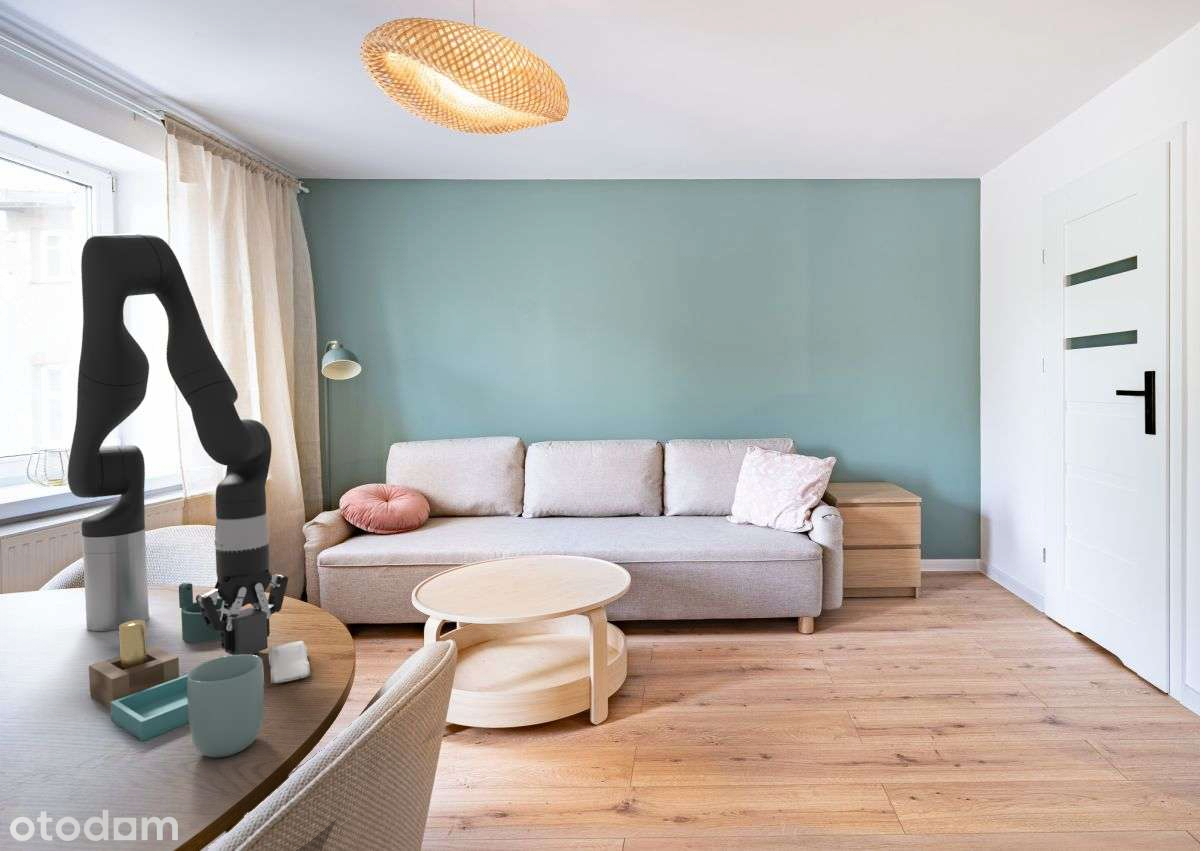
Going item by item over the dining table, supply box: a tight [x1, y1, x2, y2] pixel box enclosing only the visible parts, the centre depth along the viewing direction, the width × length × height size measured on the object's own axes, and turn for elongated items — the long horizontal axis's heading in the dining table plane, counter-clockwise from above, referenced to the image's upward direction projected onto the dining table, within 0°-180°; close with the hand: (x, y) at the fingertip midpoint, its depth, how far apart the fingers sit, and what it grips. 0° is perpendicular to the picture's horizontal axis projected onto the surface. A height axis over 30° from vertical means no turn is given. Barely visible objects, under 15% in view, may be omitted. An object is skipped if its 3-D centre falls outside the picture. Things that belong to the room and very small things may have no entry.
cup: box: [187, 654, 265, 758], centre depth 74 cm, size 8×8×10 cm
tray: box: [110, 673, 189, 742], centre depth 83 cm, size 9×12×2 cm
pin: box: [118, 620, 147, 670], centre depth 88 cm, size 3×3×10 cm
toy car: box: [268, 640, 311, 684], centre depth 96 cm, size 6×12×3 cm, turn 30°
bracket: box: [178, 582, 232, 644], centre depth 110 cm, size 9×9×9 cm
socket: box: [88, 644, 180, 710], centre depth 88 cm, size 8×8×4 cm
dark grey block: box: [224, 606, 269, 655], centre depth 100 cm, size 4×4×6 cm
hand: (246, 645), depth 100 cm, fingers closed on dark grey block, 4 cm apart
